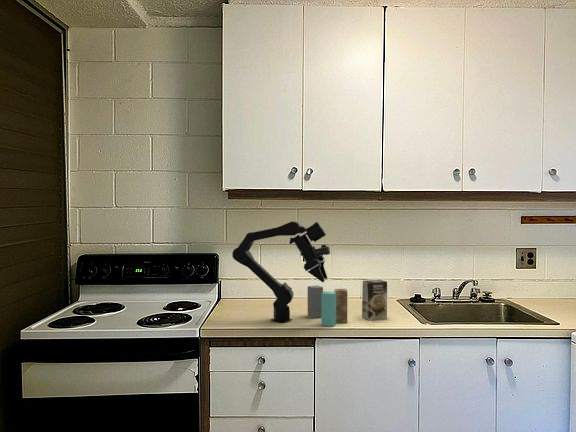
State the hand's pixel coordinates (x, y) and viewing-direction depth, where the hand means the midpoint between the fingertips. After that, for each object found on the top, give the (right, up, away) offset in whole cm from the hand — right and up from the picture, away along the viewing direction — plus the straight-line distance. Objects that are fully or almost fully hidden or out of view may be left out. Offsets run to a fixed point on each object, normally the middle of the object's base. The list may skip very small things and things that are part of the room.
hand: (325, 280), depth 183 cm
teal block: (+1, -18, -2) cm, 18 cm away
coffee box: (+22, -18, +8) cm, 29 cm away
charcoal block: (-3, -18, +11) cm, 21 cm away
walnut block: (+7, -18, +3) cm, 19 cm away
